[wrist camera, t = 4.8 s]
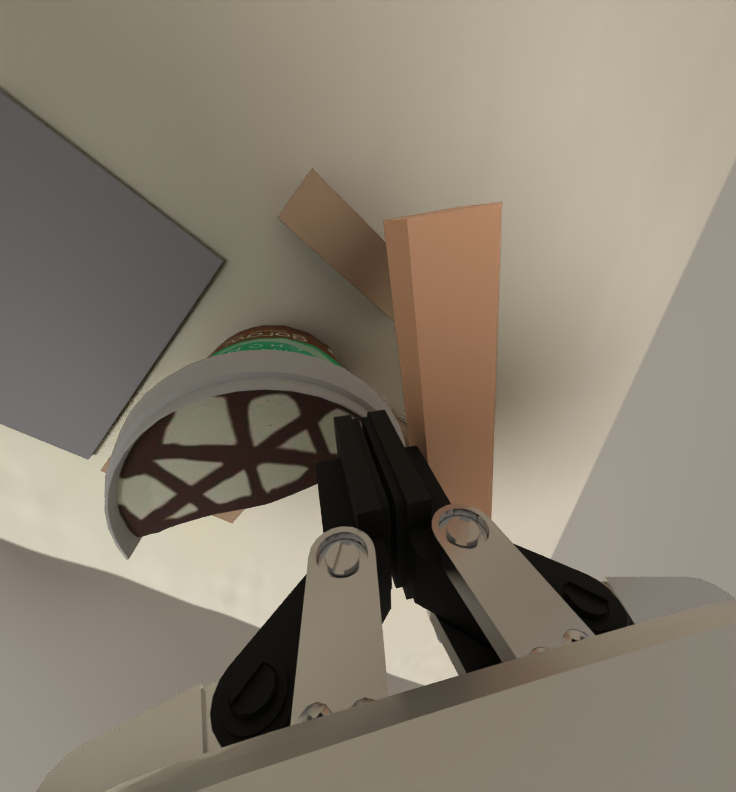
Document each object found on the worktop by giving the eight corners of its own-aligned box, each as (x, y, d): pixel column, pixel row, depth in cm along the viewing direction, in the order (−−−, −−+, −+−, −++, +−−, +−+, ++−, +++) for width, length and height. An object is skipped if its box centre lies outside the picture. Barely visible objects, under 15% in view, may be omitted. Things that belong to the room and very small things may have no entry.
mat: (-125, 364, 17) (-136, 368, 16) (-5, 85, 13) (-15, 80, 13) (92, 454, 21) (88, 459, 21) (224, 260, 18) (222, 261, 17)
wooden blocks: (124, 440, 21) (-7, 605, 12) (309, 176, 17) (327, 117, 8) (329, 532, 28) (346, 680, 19) (496, 363, 24) (622, 450, 15)
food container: (348, 280, 19) (392, 325, 11) (370, 374, 22) (419, 469, 14) (134, 336, 19) (-10, 436, 10) (186, 426, 22) (112, 564, 13)
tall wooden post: (369, 222, 8) (395, 221, 6) (466, 205, 9) (521, 198, 7) (420, 597, 16) (438, 652, 14) (470, 582, 16) (496, 634, 14)
